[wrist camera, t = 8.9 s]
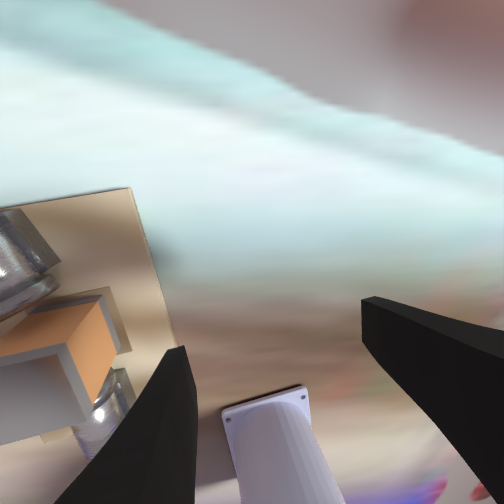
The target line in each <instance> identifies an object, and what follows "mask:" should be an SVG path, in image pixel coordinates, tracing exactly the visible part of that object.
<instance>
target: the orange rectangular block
mask: <svg viewBox="0 0 504 504" xmlns="http://www.w3.org/2000/svg"><path fill="white" fill-rule="evenodd" d="M120 347H121V344H120V341H119V339H118V336H117V333H116V330H115V327H114V325H113V322H112V319H111V316H110V313H109V311H108V308H107V305H106V302H105V299H104V297H103V295H98V296H93V297H88V298H83V299H78V300H74V301H69V302H64V303H59V304H54V305H49V306H44V307H39V308H35V309H33V310H32V311H31V312H30V313H29V314H27V317H26V318H24V319H23V320H22V321H21V322H20V323H18V324H17V325H16V326H15V327H14V328H13V329H11V330H10V331H9V332H8V333H7V334H5V335H4V336H3V337H2V338H1V339H0V446H1V445H4V444H8V443H12V442H15V441H19V440H22V439H26V438H30V437H33V436H37V435H41V434H44V433H48V432H52V431H55V430H59V429H62V428H66V427H70V426H73V425H77V424H81V423H84V422H88V420H89V418H90V416H91V413H92V411H93V409H94V407H93V405H94V403H95V401H96V398H97V396H98V394H99V392H100V389H101V387H102V385H103V383H104V380H105V378H106V376H107V374H108V371H109V369H110V367H111V365H112V362H113V360H114V358H115V356H116V353H118V352H119V349H120Z"/></svg>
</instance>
